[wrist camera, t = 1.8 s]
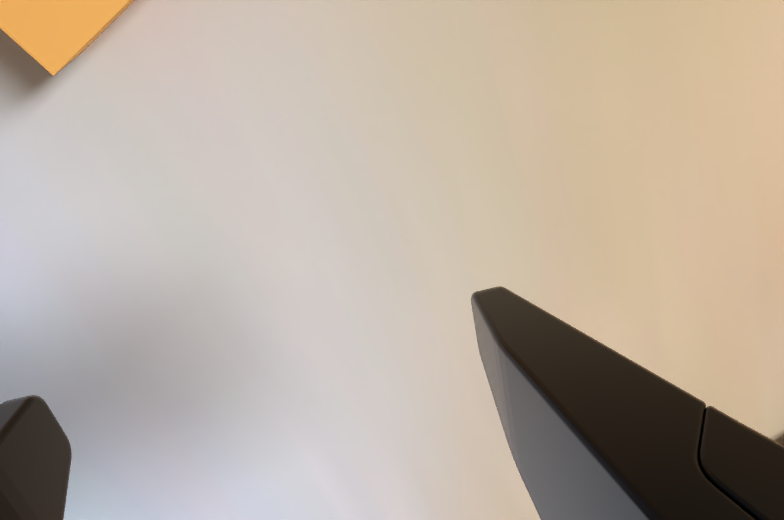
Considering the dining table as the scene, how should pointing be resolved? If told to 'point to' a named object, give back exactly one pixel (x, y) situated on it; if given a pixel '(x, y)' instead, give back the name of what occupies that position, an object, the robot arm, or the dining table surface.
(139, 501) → the dining table surface
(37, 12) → the long orange brick
